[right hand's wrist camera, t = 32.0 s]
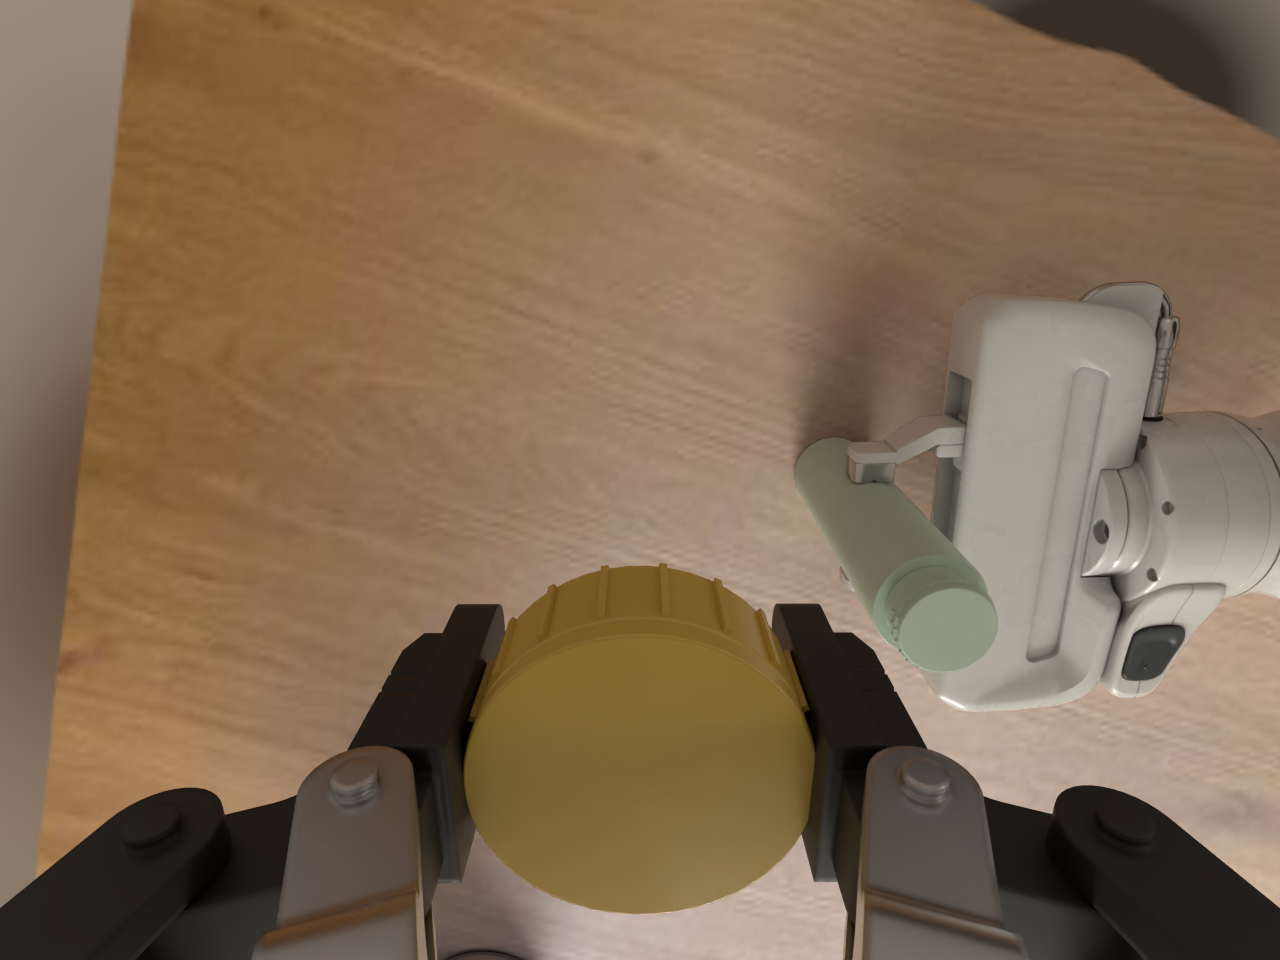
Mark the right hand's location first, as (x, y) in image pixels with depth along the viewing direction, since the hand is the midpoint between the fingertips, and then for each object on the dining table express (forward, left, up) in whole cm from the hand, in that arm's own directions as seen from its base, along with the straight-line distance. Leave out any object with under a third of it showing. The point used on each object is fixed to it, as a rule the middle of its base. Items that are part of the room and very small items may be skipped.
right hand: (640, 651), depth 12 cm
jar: (+9, -8, -27) cm, 29 cm away
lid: (0, 0, +3) cm, 3 cm away
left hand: (+8, -8, -20) cm, 23 cm away
